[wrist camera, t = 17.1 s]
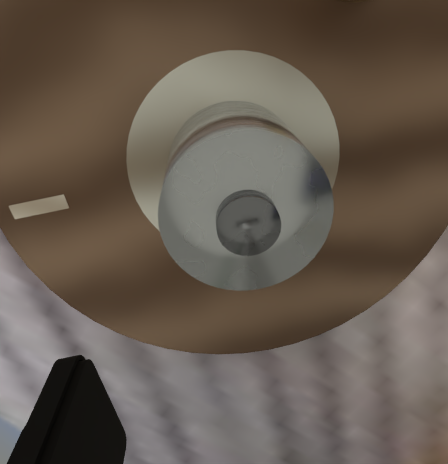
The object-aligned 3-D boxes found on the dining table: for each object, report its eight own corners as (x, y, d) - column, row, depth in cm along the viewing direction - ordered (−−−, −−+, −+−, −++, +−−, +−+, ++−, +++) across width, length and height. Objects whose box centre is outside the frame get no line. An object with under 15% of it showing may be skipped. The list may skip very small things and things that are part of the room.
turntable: (453, 301, 27) (538, 393, 21) (85, 371, 28) (50, 482, 21) (503, -231, 15) (748, -435, 9) (-140, -80, 16) (-383, -155, 9)
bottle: (304, 213, 22) (344, 284, 16) (185, 237, 22) (180, 316, 16) (291, 87, 19) (334, 117, 13) (152, 116, 19) (132, 158, 13)
